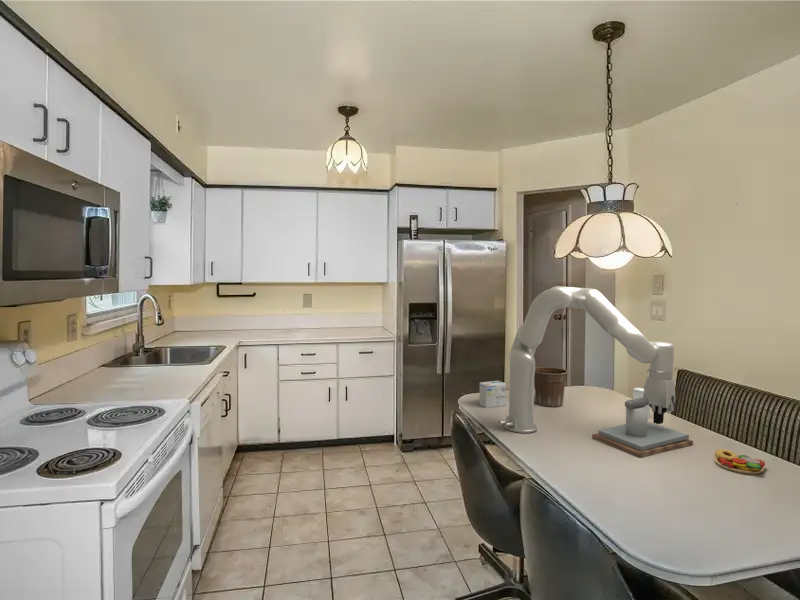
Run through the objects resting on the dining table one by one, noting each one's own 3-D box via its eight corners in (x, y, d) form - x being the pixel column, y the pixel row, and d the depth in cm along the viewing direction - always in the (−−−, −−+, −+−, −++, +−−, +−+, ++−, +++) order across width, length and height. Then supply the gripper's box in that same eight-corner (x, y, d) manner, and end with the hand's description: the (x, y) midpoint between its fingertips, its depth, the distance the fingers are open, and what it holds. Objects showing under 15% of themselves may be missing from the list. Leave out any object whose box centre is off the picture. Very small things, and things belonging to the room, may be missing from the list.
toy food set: (714, 455, 156) (714, 446, 156) (763, 465, 149) (764, 455, 149) (714, 469, 146) (714, 459, 145) (767, 480, 138) (767, 469, 138)
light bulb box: (498, 402, 220) (498, 380, 219) (506, 406, 213) (506, 383, 213) (478, 404, 216) (478, 381, 215) (486, 408, 210) (486, 385, 209)
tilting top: (641, 451, 155) (642, 409, 154) (598, 434, 172) (598, 396, 171) (688, 438, 166) (689, 399, 165) (643, 423, 182) (644, 388, 181)
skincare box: (631, 415, 199) (631, 388, 199) (637, 414, 202) (638, 387, 201) (644, 419, 194) (645, 391, 193) (650, 418, 196) (651, 390, 196)
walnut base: (639, 457, 154) (640, 453, 154) (592, 438, 172) (592, 434, 172) (692, 444, 166) (693, 440, 166) (642, 427, 184) (643, 424, 184)
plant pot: (524, 403, 218) (524, 369, 217) (543, 397, 229) (543, 365, 228) (555, 411, 206) (555, 375, 205) (573, 404, 217) (574, 370, 216)
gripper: (636, 371, 177) (633, 418, 178) (673, 380, 163) (670, 430, 164) (649, 370, 180) (646, 416, 181) (686, 378, 166) (684, 428, 167)
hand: (658, 423), depth 173 cm, fingers closed
